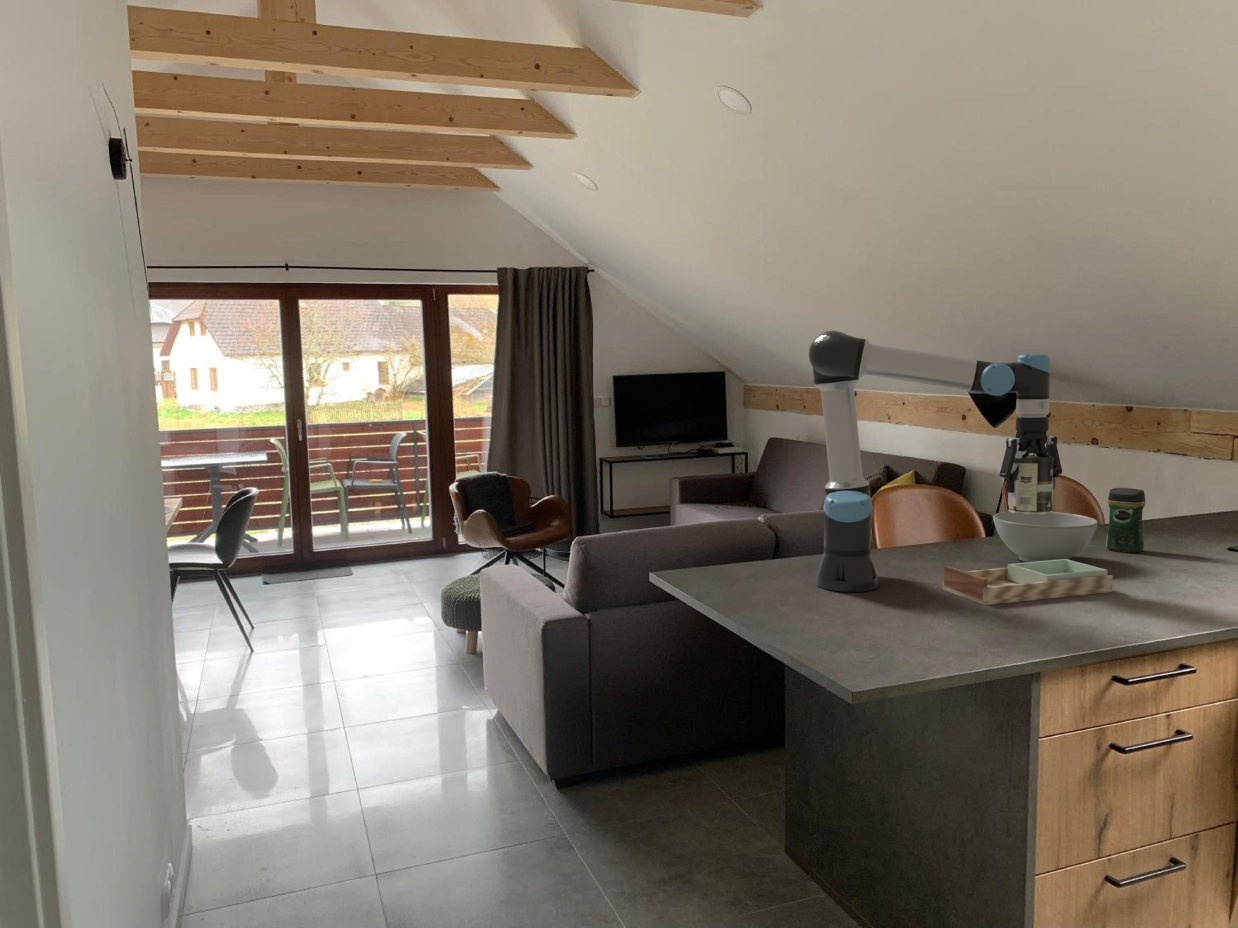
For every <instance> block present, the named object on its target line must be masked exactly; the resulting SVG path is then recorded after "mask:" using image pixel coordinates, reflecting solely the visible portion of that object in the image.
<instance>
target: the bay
mask: <svg viewBox="0 0 1238 928" xmlns="http://www.w3.org/2000/svg"><path fill="white" fill-rule="evenodd" d="M943 572H944V573H942V574H941V576H942V577H941V578H942V579H941V590H943V591H946V592H949V593H951V594H954V595H956V596H959V597H962V598H964V599H968V600H970V601H973V602H976V603H977V604H978V603H979V604H981V605H984V606H988V605H989V606H990V605H997V604H999V605H1000V604H1007V603H1008V604H1009V603H1018V602H1028V601H1036V600H1038V601H1039V600H1046V599H1055V598H1056V599H1057V598H1064V597H1074V596H1075V597H1076V596H1085V595H1093V594H1095V595H1096V594H1103V593H1112V592H1113V582H1114V581H1113V580H1114V575H1112V574H1107V575H1105V576H1095V577H1085V578H1075V579H1065V580H1054V581H1044V582H1034V583H1024V584H1019V583H1016V582H1013V581H1010V580H1007V574H1008V567H999V568H988V569H978V570H975V569H974V570H962V569H959V568H957V567H953V566H949V565H945V566H944V571H943Z"/></svg>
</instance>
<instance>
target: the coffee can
mask: <svg viewBox="0 0 1238 928" xmlns="http://www.w3.org/2000/svg"><path fill="white" fill-rule="evenodd" d="M1053 460H1054V457H1052V456H1049V457H1037V455H1036V454H1029V455H1028V456H1027V457H1026V459H1024V458H1015V459H1014V464H1017V463H1019V473H1018V475H1017V477H1016V479H1015V480H1019V487H1018V506H1012V505H1008V512H1011V513H1015V514H1023V515H1046V514H1051V513H1052V512H1053V503H1052V488H1053Z"/></svg>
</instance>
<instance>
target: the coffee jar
mask: <svg viewBox="0 0 1238 928" xmlns="http://www.w3.org/2000/svg"><path fill="white" fill-rule="evenodd" d="M1107 498H1108V499H1107V504H1108V507H1109V519H1108V520H1109V521H1108V527H1107V534H1106V543H1105V548H1106V549H1108V550H1109V551H1114V552H1120V551H1121V553H1141V552H1142V551H1143V550H1144V546H1145V545H1144V542H1145V541H1144V532H1143V531H1144V530H1143V510H1144V508H1145V505H1146V502H1147V501H1146V496H1145V490H1144V489H1138V488H1129V487H1115V488H1114V487H1113V488H1111V489H1109V492H1108V497H1107Z"/></svg>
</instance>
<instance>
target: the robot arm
mask: <svg viewBox="0 0 1238 928" xmlns="http://www.w3.org/2000/svg"><path fill="white" fill-rule="evenodd" d="M808 349H809V350H808V358H809V359H808V360H809V362H810V365H811V367H812V375H813V383H814V384H813V385H814V387H815V388H817V389H818V390H819V391H820V396H821V397H820V398H821V405H822V407H821V408H822V414H823V415H822V416H823V427H824V436H825V446H826V455H827V467H828V474H829V475H828V476H829V477H828V478H829V480H828V482H827V483H826V484H825V486H824V494H825V498H824V504H823V511H824V512H823V513H824V515H823V516H824V517H823V519H824V520H823V556H822V559H821V561H820V565H819V567H818V571H817V573H816V577H815V578H816V582H815V584H816V586H817V587H820V588H821V589H825V590H829V591H835V592H842V593H843V592H845V593H860V592H863V593H864V592H869V591H874V590H875V589H877V588H878V583H879V582H878V576H877V572H876V568H875V566H874V562H873V559H872V556H871V555H872V521H873V520H872V519H873V515H874V506H873V503H872V497H871V489H870V482H869V481H868V480H867V479H865V478H864V476H863V468H862V467H863V466H862V465H863V464H862V457H861V447H860V435H859V427H858V426H859V425H858V415H857V406H856V394H855V387H856V386H857V384H858V383H859V381H860V378H862V377H864V376H865V375H866V376H872V377H878V378H879V377H880V378H885V379H892V380H899V381H903V382H904V381H905V382H910V383H911V382H912V383H919V384H924V385H928V386H929V385H930V386H937V387H944V388H950V389H956V390H962V391H967V393H970V394H987V395H990V396H995V397H998V396H999V397H1000V396H1003V395H1005V394H1007V393H1010V394H1011V393H1012V394H1013V393H1016V401H1015V403H1016V405H1015V414H1016V415H1018V416H1017V417H1016V418H1015V431H1016V432H1017V435H1016V437H1015V438H1008V437H1007V438H1006V440H1005V443H1006V444H1005V445H1006V446H1005V451H1004V456H1003V459H1002V464H1001V467H1000V471H999V473H998V475H999V477H1000V478H1003V479H1004V480H1006V487H1005V488H1006V489H1005V490H1006V492H1007V494H1008V495H1007V496H1008V497H1007V505H1008V506H1009V505H1012V506H1018V487H1019V480H1015V479H1016V477H1017V475H1018V473H1019V463H1017V464H1014V459H1015V458H1024V459H1026V457H1027V456H1028V455H1032V454H1034V455H1037V457H1049V456H1052V457H1054V460H1053V488H1052V504H1053V502H1054V490H1055V488H1056V485H1055V484H1056V478H1059V476H1060V475H1061V474H1063V468H1062V463H1061V459H1060V454H1059V450H1058V437H1057V436H1053V435H1052V436H1051V435H1047V432H1048V431H1049V428H1050V427H1049V426H1050V425H1049V423H1050V418H1049V416H1048V415H1049V414H1050V386H1051V385H1050V383H1051V363H1050V361H1051V360H1050V357H1049V356H1048V355H1047V354H1046V353H1038V354H1037V353H1036V354H1035V353H1034V354H1033V353H1031V354H1018V356H1017V358H1016V361H1013V362H993V361H992V362H991V361H984V360H977V359H971V358H964V357H959V356H958V357H957V356H951V355H945V354H938V353H931V352H926V351H919V350H912V349H906V348H900V347H899V348H897V347H892V346H886V345H879V344H873V343H870V341H869V340H868V339H867V338H860V337H855V336H851V335H849V334H846V333H845V332H842V331H838V330H828V331H824V332H822V333H820V334H818V335H817V336H816V337H815V338H814V339H813V340H812V342H811V343H810V346H809V348H808Z"/></svg>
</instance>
